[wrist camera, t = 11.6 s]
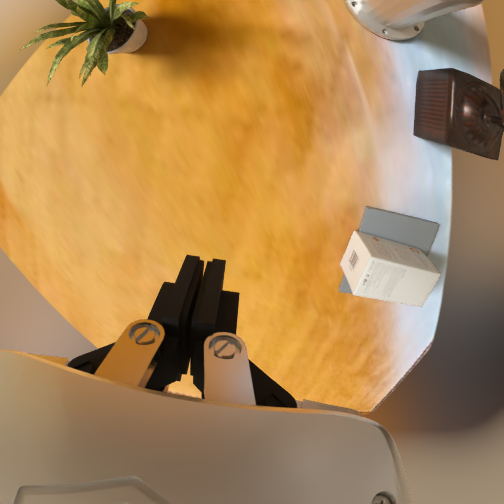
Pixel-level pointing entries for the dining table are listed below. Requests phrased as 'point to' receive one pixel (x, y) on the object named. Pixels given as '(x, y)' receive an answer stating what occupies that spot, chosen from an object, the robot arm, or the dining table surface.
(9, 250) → the dining table surface
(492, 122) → the manual coffee grinder
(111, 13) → the house plant
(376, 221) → the mat
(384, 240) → the small box
